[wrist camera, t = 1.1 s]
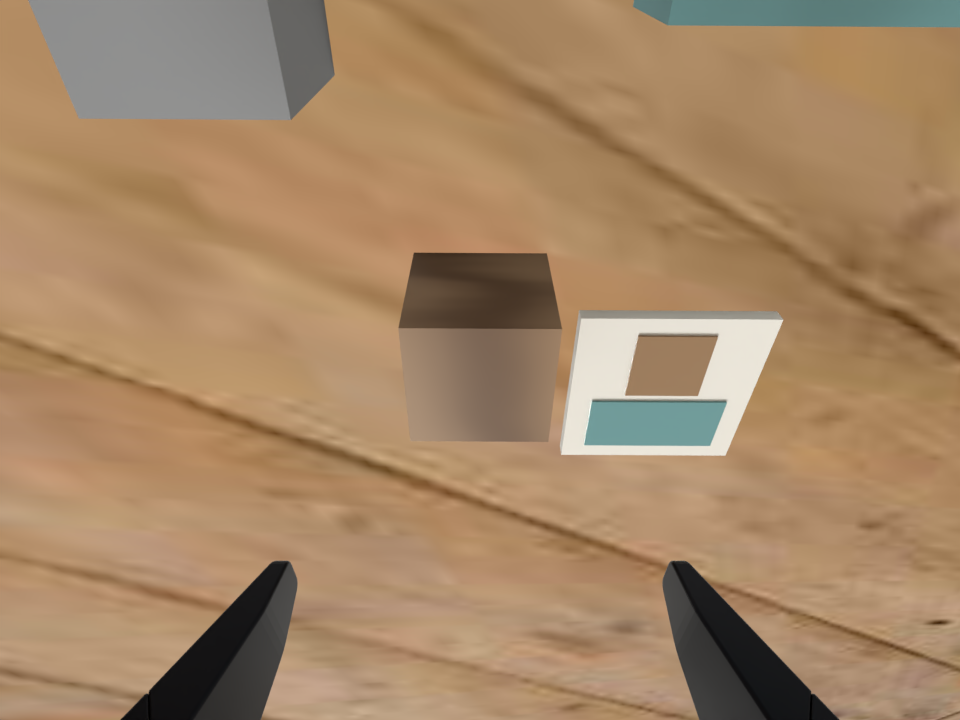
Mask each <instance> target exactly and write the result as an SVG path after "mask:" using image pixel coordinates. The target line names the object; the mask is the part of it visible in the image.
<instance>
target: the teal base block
mask: <svg viewBox="0 0 960 720" xmlns="http://www.w3.org/2000/svg"><path fill="white" fill-rule="evenodd" d="M633 7H634V8H636V9H638V10H640V11H642V12H644V13H645V14H647V15H649V16H651V17H653V18H655V19H657V20H658V21H660V22H662V23H664V24H666V25H678V26H824V27H960V0H634V3H633Z"/></svg>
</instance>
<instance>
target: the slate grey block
mask: <svg viewBox="0 0 960 720" xmlns="http://www.w3.org/2000/svg"><path fill="white" fill-rule="evenodd" d="M28 1H29V4H30V6H31V8H32V11H33V13H34V15H35V18H36V20H37V22H38V25H39V27H40V29H41V32H42V34H43V36H44V39H45V41H46V43H47V45H48V48H49V50H50V52H51V55H52V57H53V59H54V62H55V64H56V66H57V69H58V71H59V73H60V76H61V78H62V80H63V83H64V85H65V87H66V90H67V92H68V94H69V97H70V99H71V101H72V104H73V106H74V108H75V111H76V113H77V115H78V118H79V119H208V120H292V119H293V117H294V116H295V115H296V114H297V113H298V112H299V111H300V110H301V109H302V108H303V107H304V106H305V105H306V104H307V103H308V102H309V101H310V100H311V99H312V98H313V97H314V96H315V95H316V94H317V93H318V92H319V91H320V90H321V89H322V88H323V87H324V86H325V85H326V84H327V83H328V82H329V81H330V80H331V79H332V78H333V77H334V75H335V73H334V66H333V59H332V52H331V45H330V38H329V31H328V25H327V18H326V11H325V4H324V0H28Z"/></svg>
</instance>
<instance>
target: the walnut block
mask: <svg viewBox="0 0 960 720" xmlns="http://www.w3.org/2000/svg"><path fill="white" fill-rule="evenodd" d="M398 330H399V340H400V349H401V358H402V368H403V377H404V386H405V396H406V405H407V414H408V424H409V433H410V441H468V442H548V441H549V433H550V425H551V417H552V409H553V400H554V392H555V384H556V376H557V368H558V359H559V351H560V343H561V335H562V326H561V321H560V316H559V311H558V306H557V301H556V296H555V291H554V286H553V281H552V276H551V271H550V266H549V261H548V256H547V253H414V254H413V259H412V264H411V269H410V274H409V278H408V283H407V288H406V293H405V298H404V303H403V308H402V312H401V317H400V322H399V327H398Z"/></svg>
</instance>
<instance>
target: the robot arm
mask: <svg viewBox="0 0 960 720" xmlns="http://www.w3.org/2000/svg"><path fill="white" fill-rule="evenodd" d="M297 586H298V581H297V577H296V574H295V572H294V569H293V567H292V564H291V562H290V561H273V562H271V563H270V564H269V565H268V566H267V567H266V568H265V569H264V570H263V571H262V573H261V574H260V575H259V576H258V577H257V578H256V579H255V580H254V581H253V582H252V583H251V584H250V585H249V586H248V587H247V588H246V589H245V590H244V591H243V592H242V593H241V595H240V596H239V597H238V598H237V599H236V600H235V601H234V602H233V603H232V604H231V605H230V606H229V607H228V608H227V609H226V610H225V611H224V612H223V613H222V614H221V616H220V617H219V618H218V619H217V620H216V621H215V622H214V623H213V624H212V625H211V626H210V627H209V628H208V629H207V630H206V631H205V632H204V633H203V634H202V635H201V637H200V638H199V639H198V640H197V641H196V642H195V643H194V644H193V645H192V646H191V647H190V648H189V649H188V650H187V651H186V652H185V653H184V654H183V655H182V656H181V657H180V659H179V660H178V661H177V662H176V663H175V664H174V665H173V666H172V667H171V668H170V669H169V670H168V671H167V672H166V673H165V674H164V675H163V676H162V677H161V678H160V680H159V681H158V682H157V683H156V684H155V685H154V686H153V687H152V688H151V689H150V690H149V694H147V693H146V694H145V695H144V696H143V697H142V698H141V699H140V700H139V701H138V702H137V703H136V704H135V705H134V706H133V707H132V708H131V709H130V710H129V711H128V712H127V713H126V714H125V715H124V716H123V717H122V718H121V719H120V720H261V718H262V715H263V712H264V709H265V706H266V703H267V700H268V697H269V694H270V691H271V688H272V685H273V682H274V679H275V676H276V673H277V670H278V667H279V664H280V661H281V658H282V655H283V651H284V648H285V643H286V639H287V635H288V630H289V625H290V621H291V616H292V611H293V607H294V602H295V597H296V593H297ZM662 586H663V593H664V597H665V602H666V607H667V611H668V616H669V621H670V625H671V630H672V635H673V639H674V644H675V648H676V651H677V655H678V658H679V661H680V664H681V667H682V670H683V673H684V676H685V679H686V682H687V685H688V688H689V691H690V694H691V697H692V700H693V703H694V706H695V709H696V712H697V715H698V718H699V720H840V719H839V718H838V717H837V716H836V715H835V714H834V713H833V712H832V711H831V710H830V709H829V708H828V707H827V706H826V705H825V704H824V703H823V702H822V701H821V700H820V699H819V698H818V697H817V696H816V695H815V694H814V693H813V694H811V690H810V689H809V688H808V687H807V686H806V685H805V684H804V683H803V682H802V681H801V680H800V678H799V677H798V676H797V675H796V674H795V673H794V672H793V671H792V670H791V669H790V668H789V667H788V666H787V665H786V664H785V663H784V662H783V661H782V660H781V659H780V657H779V656H778V655H777V654H776V653H775V652H774V651H773V650H772V649H771V648H770V647H769V646H768V645H767V644H766V643H765V642H764V641H763V640H762V639H761V638H760V637H759V635H758V634H757V633H756V632H755V631H754V630H753V629H752V628H751V627H750V626H749V625H748V624H747V623H746V622H745V621H744V620H743V619H742V618H741V617H740V616H739V614H738V613H737V612H736V611H735V610H734V609H733V608H732V607H731V606H730V605H729V604H728V603H727V602H726V601H725V600H724V599H723V598H722V597H721V596H720V595H719V594H718V592H717V591H716V590H715V589H714V588H713V587H712V586H711V585H710V584H709V583H708V582H707V581H706V580H705V579H704V578H703V577H702V576H701V575H700V574H699V573H698V571H697V570H696V569H695V568H694V567H693V566H692V565H691V564H690V563H689V562H687V561H670V562H669V564H668V567H667V569H666V572H665V574H664V577H663V581H662Z"/></svg>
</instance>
